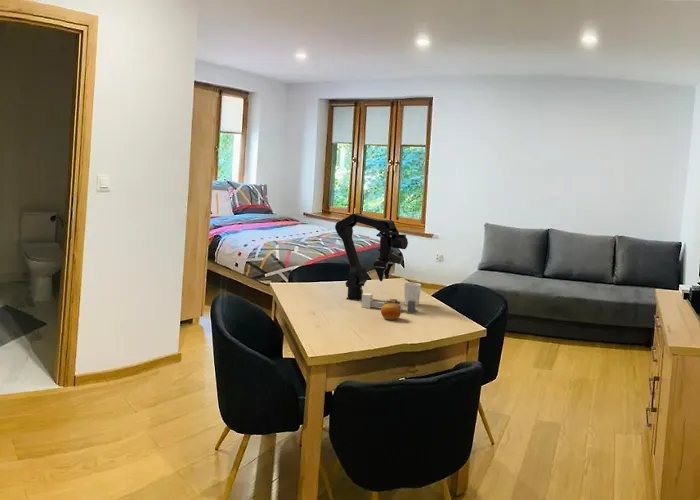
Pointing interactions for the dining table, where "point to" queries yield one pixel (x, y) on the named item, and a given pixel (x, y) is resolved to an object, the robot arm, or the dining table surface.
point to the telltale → (411, 306)
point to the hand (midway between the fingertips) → (383, 279)
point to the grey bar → (369, 303)
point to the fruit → (390, 311)
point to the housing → (396, 303)
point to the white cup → (412, 292)
